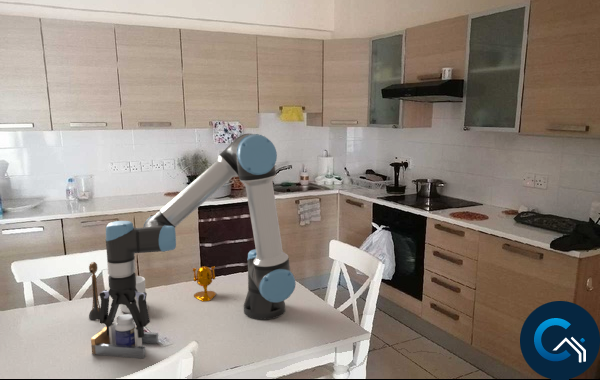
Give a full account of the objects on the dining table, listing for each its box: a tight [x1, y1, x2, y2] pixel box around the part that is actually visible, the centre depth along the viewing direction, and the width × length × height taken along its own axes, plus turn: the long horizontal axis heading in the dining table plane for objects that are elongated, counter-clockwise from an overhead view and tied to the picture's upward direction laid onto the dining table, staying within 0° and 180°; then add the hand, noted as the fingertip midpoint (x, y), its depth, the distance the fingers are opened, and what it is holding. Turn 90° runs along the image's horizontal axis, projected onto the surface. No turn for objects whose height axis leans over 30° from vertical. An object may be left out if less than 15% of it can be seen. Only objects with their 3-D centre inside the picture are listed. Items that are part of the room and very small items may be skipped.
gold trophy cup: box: [192, 265, 217, 303], centre depth 172 cm, size 9×11×12 cm
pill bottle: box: [115, 313, 136, 346], centre depth 132 cm, size 6×6×10 cm
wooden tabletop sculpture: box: [88, 261, 101, 321], centre depth 152 cm, size 6×5×20 cm
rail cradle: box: [90, 326, 159, 359], centre depth 133 cm, size 16×10×5 cm, turn 83°
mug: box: [119, 275, 147, 314], centre depth 161 cm, size 12×9×11 cm
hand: (126, 345), depth 133 cm, fingers open, 7 cm apart
